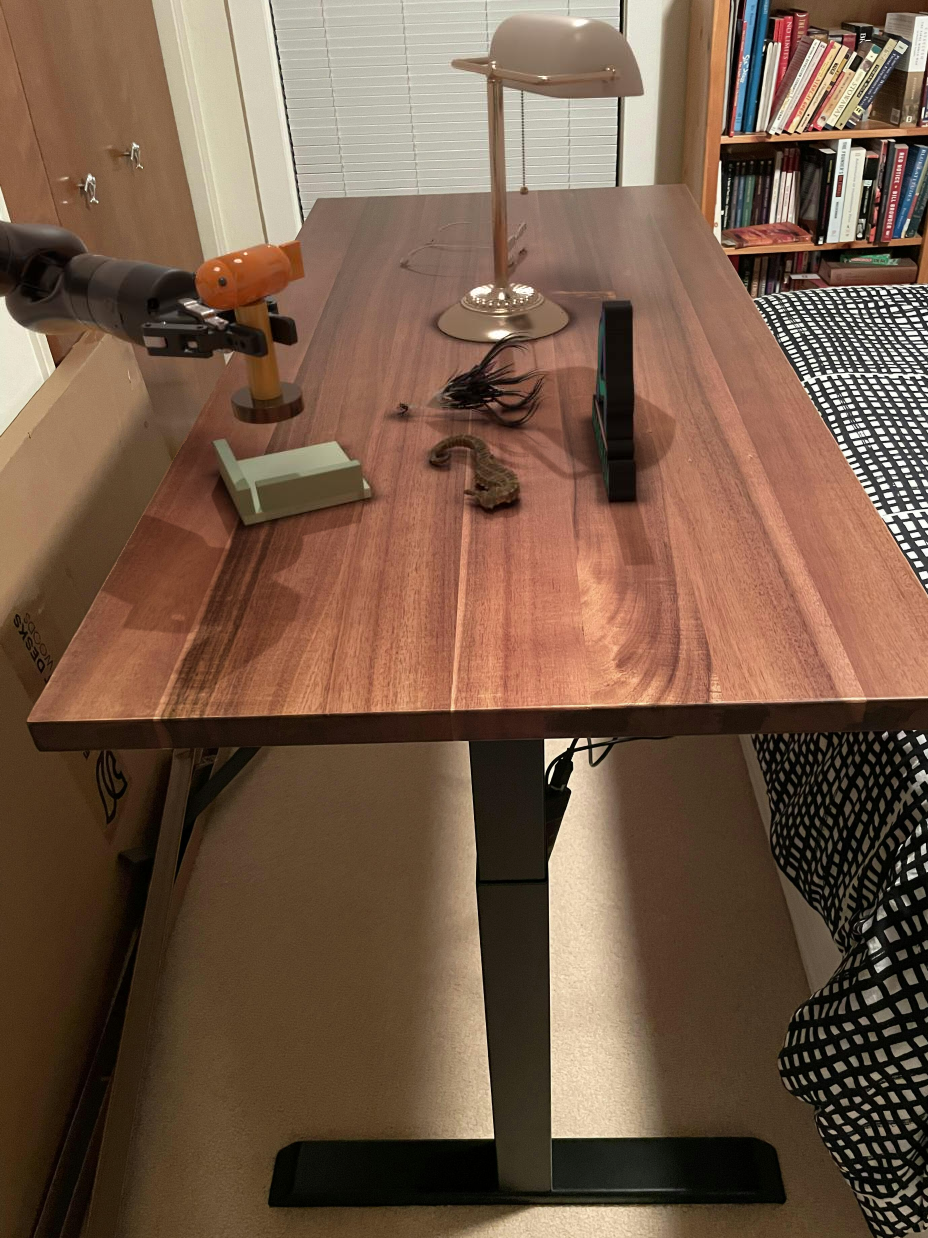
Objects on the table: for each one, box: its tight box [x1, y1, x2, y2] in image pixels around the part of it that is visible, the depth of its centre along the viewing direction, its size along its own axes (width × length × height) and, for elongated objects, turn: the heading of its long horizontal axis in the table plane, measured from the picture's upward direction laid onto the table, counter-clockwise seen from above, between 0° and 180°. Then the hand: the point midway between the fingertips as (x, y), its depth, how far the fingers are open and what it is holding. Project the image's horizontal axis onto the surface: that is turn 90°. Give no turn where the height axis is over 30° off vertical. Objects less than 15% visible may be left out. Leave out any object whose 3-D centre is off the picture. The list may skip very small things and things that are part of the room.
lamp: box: [436, 12, 645, 343], centre depth 122 cm, size 26×24×34 cm
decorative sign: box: [591, 299, 637, 501], centre depth 92 cm, size 19×2×15 cm, turn 1°
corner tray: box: [212, 438, 372, 526], centre depth 93 cm, size 12×12×4 cm
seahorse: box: [427, 433, 522, 510], centre depth 93 cm, size 6×15×2 cm, turn 24°
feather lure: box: [396, 331, 556, 428], centre depth 103 cm, size 9×18×8 cm, turn 83°
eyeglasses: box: [399, 221, 527, 266], centre depth 157 cm, size 15×18×4 cm
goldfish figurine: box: [192, 240, 306, 425], centre depth 84 cm, size 11×6×14 cm, turn 144°
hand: (278, 338), depth 82 cm, fingers closed on goldfish figurine, 3 cm apart
